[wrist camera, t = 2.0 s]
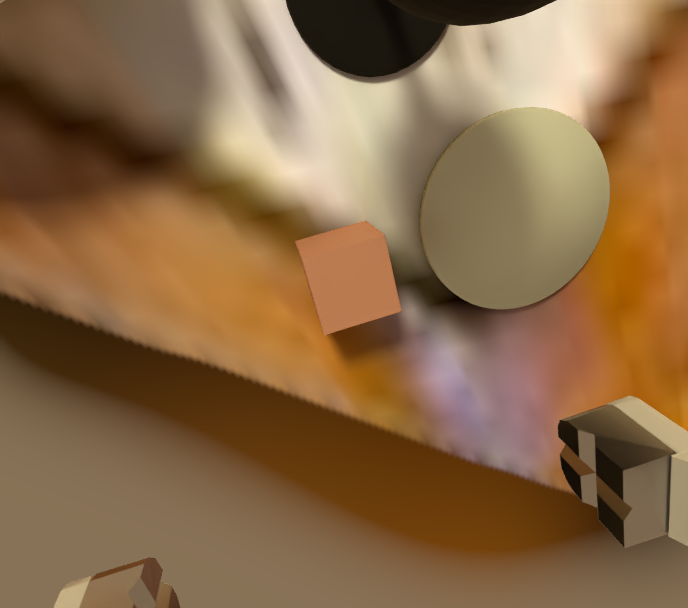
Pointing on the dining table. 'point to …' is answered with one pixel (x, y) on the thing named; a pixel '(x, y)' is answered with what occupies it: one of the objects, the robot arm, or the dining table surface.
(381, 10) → the wine glass
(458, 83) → the dining table surface
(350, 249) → the orange cube
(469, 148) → the tile
